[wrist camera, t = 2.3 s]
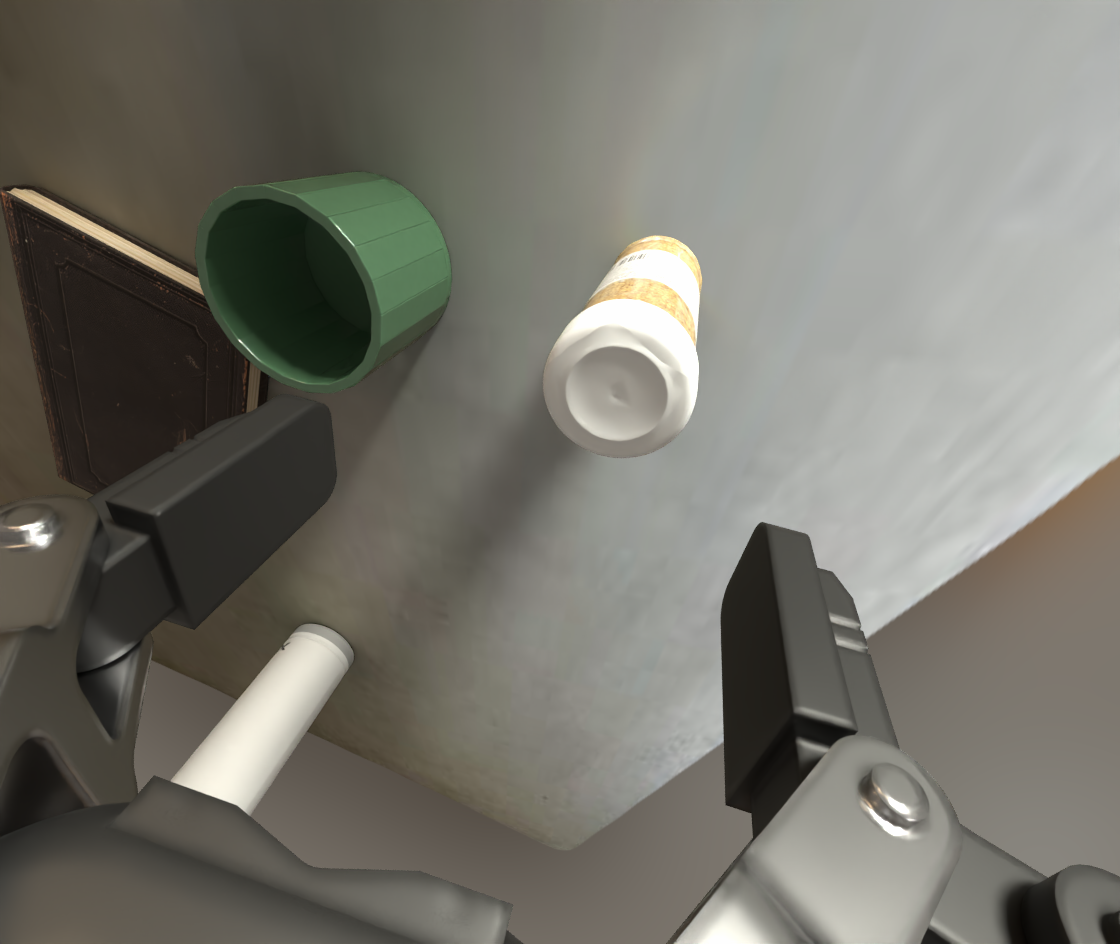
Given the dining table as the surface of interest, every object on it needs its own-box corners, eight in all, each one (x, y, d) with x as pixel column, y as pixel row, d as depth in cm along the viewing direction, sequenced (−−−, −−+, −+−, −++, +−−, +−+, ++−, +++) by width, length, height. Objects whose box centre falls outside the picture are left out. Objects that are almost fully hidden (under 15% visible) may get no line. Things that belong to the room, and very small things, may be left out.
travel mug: (285, 616, 50) (80, 850, 34) (346, 628, 49) (163, 878, 33) (304, 658, 54) (126, 890, 38) (362, 670, 52) (203, 916, 36)
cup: (399, 139, 25) (299, 144, 19) (479, 313, 29) (417, 363, 23) (273, 212, 29) (156, 235, 23) (360, 359, 33) (279, 412, 27)
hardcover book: (276, 311, 32) (249, 323, 30) (251, 546, 46) (231, 564, 44) (32, 182, 31) (-11, 186, 30) (79, 459, 45) (52, 474, 43)
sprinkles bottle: (621, 335, 28) (562, 472, 17) (600, 246, 26) (518, 336, 15) (710, 317, 26) (708, 453, 15) (696, 220, 24) (681, 299, 13)
